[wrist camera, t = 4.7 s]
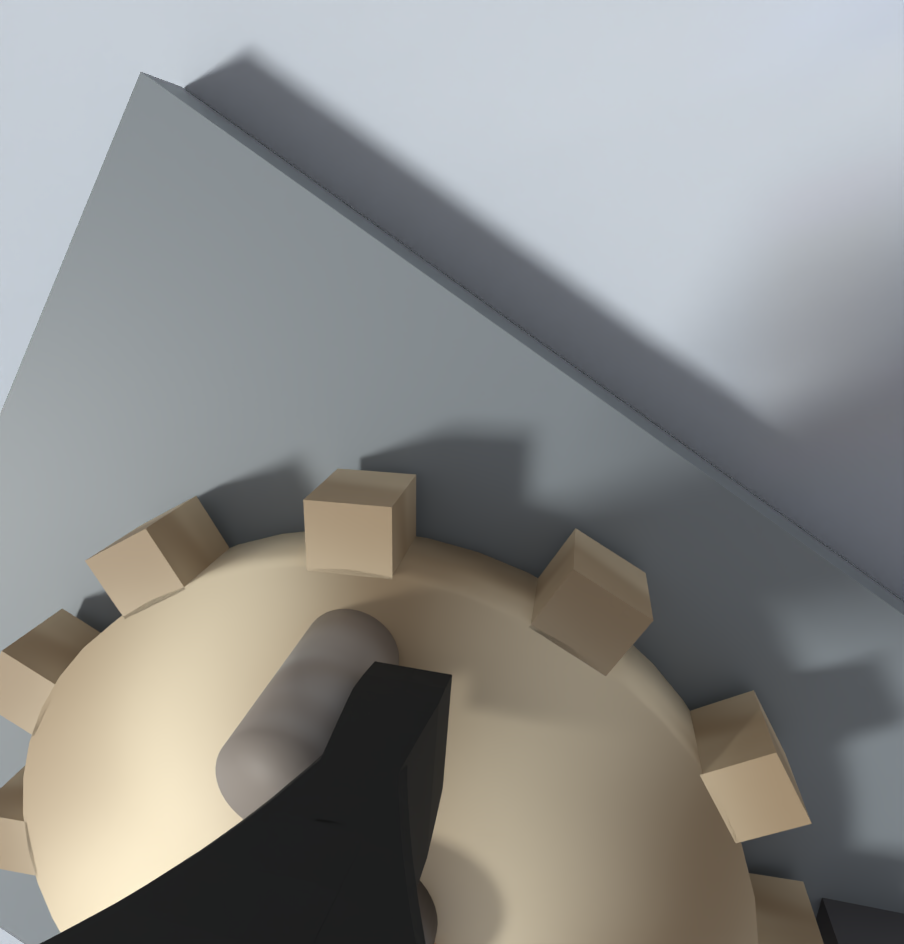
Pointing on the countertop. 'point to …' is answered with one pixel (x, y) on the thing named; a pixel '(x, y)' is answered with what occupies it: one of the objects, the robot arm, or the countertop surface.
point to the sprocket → (468, 738)
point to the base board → (415, 468)
